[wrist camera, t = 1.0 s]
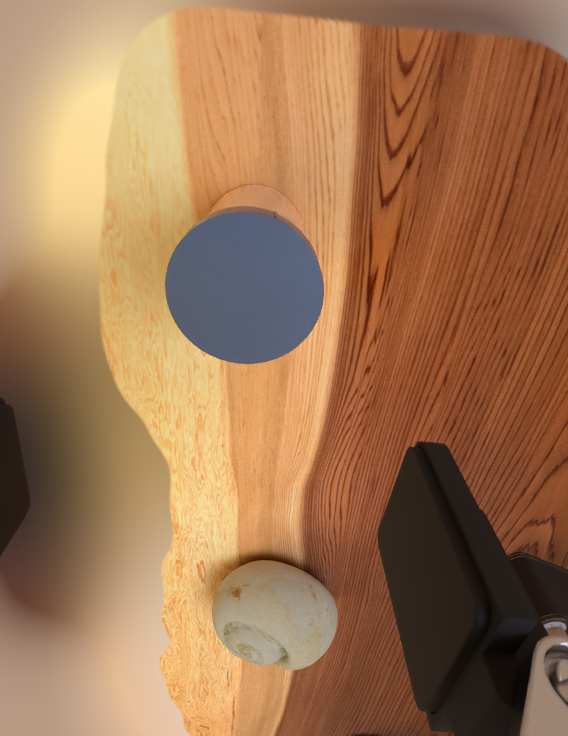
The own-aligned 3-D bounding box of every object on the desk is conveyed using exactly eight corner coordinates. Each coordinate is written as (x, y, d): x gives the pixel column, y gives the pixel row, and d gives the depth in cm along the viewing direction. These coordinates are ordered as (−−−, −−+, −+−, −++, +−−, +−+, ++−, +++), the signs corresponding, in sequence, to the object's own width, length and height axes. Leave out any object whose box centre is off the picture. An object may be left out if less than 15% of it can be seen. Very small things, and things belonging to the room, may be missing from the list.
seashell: (203, 681, 42) (219, 635, 36) (208, 595, 48) (222, 544, 42) (332, 680, 44) (367, 638, 39) (321, 598, 51) (349, 551, 45)
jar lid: (199, 176, 19) (193, 181, 17) (347, 241, 20) (352, 251, 19) (155, 319, 22) (147, 333, 20) (285, 367, 23) (286, 383, 22)
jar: (224, 166, 27) (198, 192, 18) (320, 209, 28) (341, 254, 19) (193, 263, 30) (156, 327, 21) (281, 298, 31) (283, 372, 22)
